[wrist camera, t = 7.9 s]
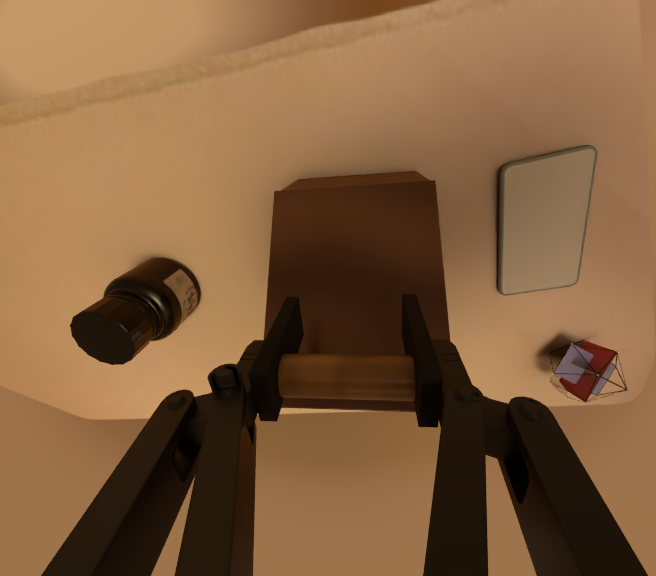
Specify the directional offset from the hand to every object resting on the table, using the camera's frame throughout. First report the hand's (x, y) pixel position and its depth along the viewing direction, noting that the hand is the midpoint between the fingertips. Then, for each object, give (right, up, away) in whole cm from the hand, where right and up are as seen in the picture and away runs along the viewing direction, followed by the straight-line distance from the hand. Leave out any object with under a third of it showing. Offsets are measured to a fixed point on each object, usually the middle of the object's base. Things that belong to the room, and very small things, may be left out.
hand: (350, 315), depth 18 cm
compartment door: (+1, +2, +4) cm, 4 cm away
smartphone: (+22, +8, +14) cm, 27 cm away
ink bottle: (-23, +2, +23) cm, 33 cm away
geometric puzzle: (+30, -7, +21) cm, 38 cm away
